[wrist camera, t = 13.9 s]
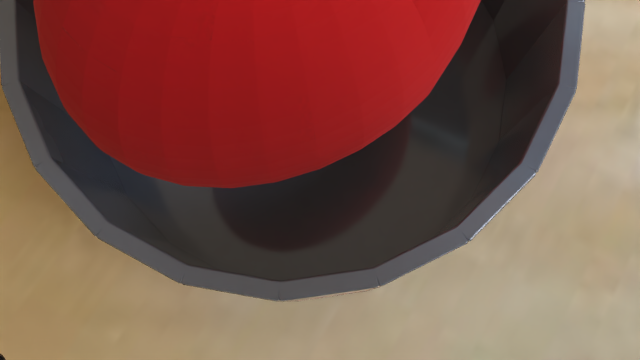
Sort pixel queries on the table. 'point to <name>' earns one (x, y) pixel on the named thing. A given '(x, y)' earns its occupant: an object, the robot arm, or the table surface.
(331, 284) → the measuring cup
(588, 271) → the table surface
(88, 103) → the light bulb
